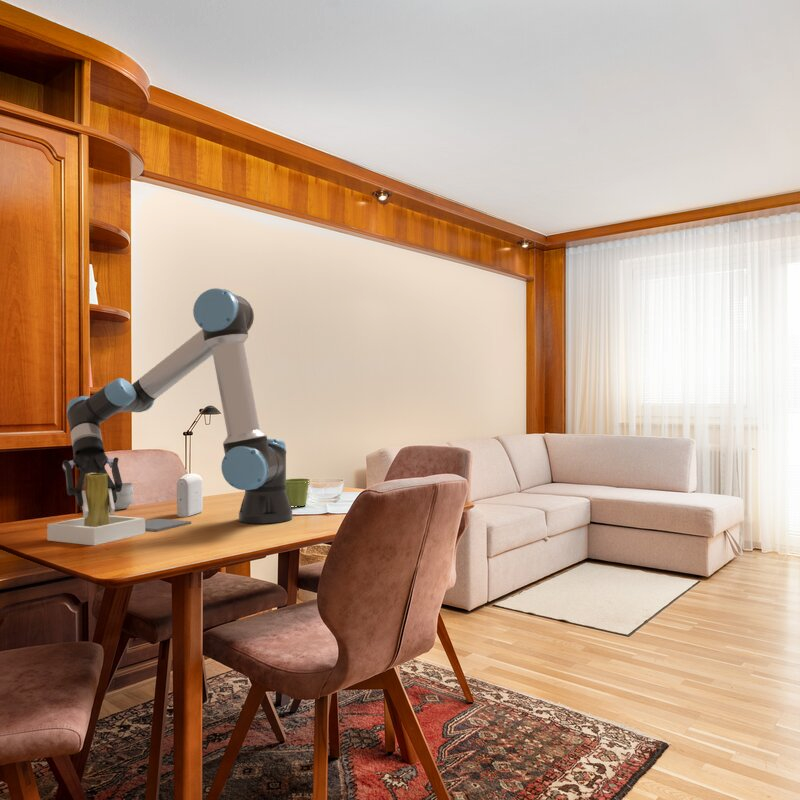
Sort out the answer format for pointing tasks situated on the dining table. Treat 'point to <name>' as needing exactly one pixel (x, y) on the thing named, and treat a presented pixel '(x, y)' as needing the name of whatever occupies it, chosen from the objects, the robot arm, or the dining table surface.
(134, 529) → the tub
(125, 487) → the teacup
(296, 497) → the plant pot
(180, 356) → the robot arm
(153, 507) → the dining table surface
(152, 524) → the mat
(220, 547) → the dining table surface
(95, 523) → the vase
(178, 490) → the photo printer
